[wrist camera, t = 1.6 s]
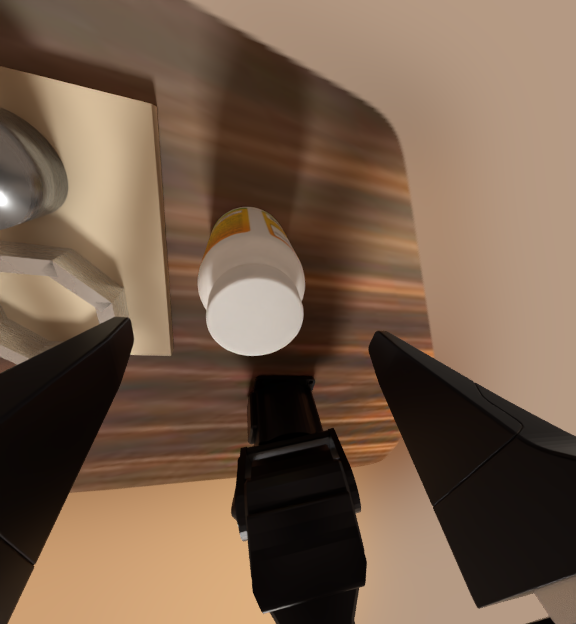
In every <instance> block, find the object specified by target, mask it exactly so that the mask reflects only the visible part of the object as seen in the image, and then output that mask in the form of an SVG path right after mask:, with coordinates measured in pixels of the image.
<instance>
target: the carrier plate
mask: <svg viewBox="0 0 576 624" xmlns="http://www.w3.org/2000/svg"><path fill="white" fill-rule="evenodd" d="M0 107H1V108H3V109H6V110H8V111H10V112H12V113H14V114H16V115H17V116H19V117H21V118H22V119H24V120H25V121H27V122H28V123H29V124H31V125H32V126H33V127H34V128H35V129H37V130H38V131H39V132H40V133H41V134H42V135H43V136H44V137H45V138H46V139H47V140H48V142H49V143H50V144H51V145H52V147H53V148H54V149H55V151H56V152H57V154H58V156H59V157H60V159H61V161H62V163H63V165H64V168H65V171H66V174H67V178H68V194H67V198H66V200H65V202H64V204H63V205H62V206H61V207H60V208H59V209H58V210H56V211H55V212H53V213H51V214H48V215H45V216H42V217H39V218H36V219H33V220H30V221H27V222H24V223H21V224H18V225H15V226H13V227H10V228H6V229H2V230H0V240H1V241H9V242H18V243H27V244H35V245H44V246H53V247H62V248H71V249H73V250H75V251H76V252H77V253H78V254H80V255H81V256H82V257H84V258H85V259H86V260H88V261H89V262H90V263H92V264H93V265H94V266H96V267H97V268H98V269H99V270H101V271H102V272H103V273H105V274H106V275H107V276H109V277H110V278H111V279H113V280H114V281H115V282H117V283H118V284H119V285H120V286H122V287H123V288H124V290H125V296H126V302H127V307H128V313H129V318H130V320H131V323H132V328H133V334H134V344H133V348H132V351H131V354H130V355H160V356H171V354H172V351H173V348H174V346H173V332H172V318H171V303H170V289H169V274H168V260H167V246H166V231H165V217H164V202H163V188H162V174H161V159H160V145H159V130H158V116H157V106H155V105H153V104H150V103H146V102H142V101H138V100H134V99H130V98H126V97H122V96H118V95H114V94H110V93H106V92H102V91H98V90H94V89H90V88H86V87H82V86H78V85H74V84H70V83H66V82H62V81H58V80H54V79H50V78H46V77H42V76H38V75H34V74H30V73H26V72H22V71H18V70H14V69H10V68H6V67H2V66H0ZM0 304H1V306H2V308H3V310H4V312H5V314H6V316H7V318H8V319H10V320H12V321H14V322H16V323H18V324H20V325H21V326H23V327H25V328H27V329H29V330H31V331H33V332H34V333H36V334H38V335H40V336H42V337H44V338H46V339H47V340H49V341H66V340H68V339H70V338H72V337H74V336H76V335H78V334H80V333H82V332H85V331H87V330H89V329H91V328H93V327H95V326H97V325H99V321H98V317H97V313H96V309H95V307H94V306H92V305H91V304H89V303H88V302H86V301H85V300H83V299H82V298H80V297H79V296H77V295H76V294H74V293H73V292H71V291H70V290H68V289H67V288H65V287H64V286H62V285H61V284H59V283H58V282H56V281H55V280H53V279H52V278H50V277H49V276H40V275H29V274H17V273H6V272H0Z"/></svg>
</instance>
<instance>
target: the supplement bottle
mask: <svg viewBox="0 0 576 624" xmlns="http://www.w3.org/2000/svg"><path fill="white" fill-rule="evenodd" d="M198 291H199V295H200V299H201V301H202V303H203V305H204V307H205V309H206V310H207V311H206V322H207V326H208V329H209V332H210V334H211V335H212V337H213V338H214V340H215V341H216V342H217V343H218V344H220V345H221V346H222V347H224V348H225V349H227V350H229V351H231V352H234V353H237V354H241V355H247V356H259V355H265V354H269V353H272V352H275V351H277V350H279V349H281V348H283V347H285V346H286V345H287V344H289V343H290V342H291V341H292V340H293V339H294V338H295V336H296V335H297V334H298V332H299V330H300V328H301V326H302V322H303V316H304V313H303V305H302V299H303V296H304V291H305V277H304V272H303V268H302V265H301V263H300V260H299V258H298V256H297V255H296V253H295V251H294V249H293V248H292V246H291V244H290V242H289V240H288V238H287V236H286V234H285V233H284V231H283V229H282V227H281V226H280V224H279V223H278V222H277V220H276V219H275V218H274V217H273V216H271V215H270V214H269V213H267V212H265V211H263V210H261V209H258V208H254V207H240V208H236V209H233V210H231V211H229V212H227V213H225V214H224V215H223V216H222V217H221V218H220V219H219V220H218V221H217V222H216V224H215V226H214V228H213V230H212V232H211V235H210V238H209V241H208V244H207V247H206V250H205V253H204V256H203V259H202V262H201V265H200V269H199V274H198Z"/></svg>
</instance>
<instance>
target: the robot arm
mask: <svg viewBox="0 0 576 624" xmlns="http://www.w3.org/2000/svg"><path fill="white" fill-rule="evenodd" d="M133 344H134V334H133V328H132V323H131V320H130V318H128V317H113V318H111V319H109V320H107V321H105V322H103V323H101V324H99V325H97V326H95V327H93V328H91V329H89V330H87V331H85V332H82V333H80V334H78V335H76V336H74V337H72V338H70V339H68V340H66V341H64V342H62V343H60V344H58V345H56V346H54V347H52V348H50V349H48V350H46V351H44V352H42V353H40V354H38V355H36V356H34V357H32V358H30V359H28V360H26V361H24V362H22V363H20V364H18V365H16V366H14V367H12V368H10V369H8V370H6V371H4V372H2V373H0V624H8V622H9V619H10V617H11V615H12V613H13V611H14V609H15V607H16V605H17V603H18V600H19V598H20V596H21V594H22V592H23V590H24V588H25V586H26V583H27V581H28V579H29V577H30V575H31V573H32V571H33V569H34V564H35V563H36V562H37V560H38V558H39V556H40V553H41V551H42V549H43V547H44V545H45V543H46V541H47V539H48V537H49V535H50V532H51V530H52V528H53V526H54V524H55V522H56V520H57V517H58V515H59V513H60V511H61V509H62V507H63V505H64V503H65V501H66V498H67V496H68V494H69V492H70V490H71V488H72V486H73V484H74V482H75V480H76V477H77V475H78V473H79V471H80V469H81V467H82V465H83V463H84V461H85V458H86V456H87V454H88V452H89V450H90V448H91V446H92V444H93V442H94V439H95V437H96V435H97V433H98V431H99V429H100V427H101V425H102V423H103V420H104V418H105V416H106V414H107V412H108V410H109V408H110V406H111V404H112V401H113V399H114V397H115V395H116V393H117V391H118V389H119V386H120V384H121V381H122V378H123V375H124V372H125V369H126V366H127V363H128V360H129V357H130V354H131V351H132V348H133ZM369 354H370V357H371V360H372V363H373V367H374V370H375V373H376V376H377V379H378V382H379V385H380V387H381V390H382V392H383V394H384V396H385V399H386V401H387V403H388V406H389V408H390V410H391V412H392V415H393V417H394V419H395V422H396V424H397V426H398V428H399V431H400V433H401V435H402V438H403V440H404V442H405V444H406V447H407V449H408V451H409V454H410V456H411V458H412V460H413V463H414V465H415V467H416V469H417V472H418V474H419V476H420V479H421V481H422V483H423V486H424V488H425V490H426V493H427V495H428V497H429V499H430V502H431V504H432V506H434V507H433V509H434V511H435V513H436V515H437V518H438V520H439V522H440V525H441V527H442V530H443V532H444V534H445V536H446V538H447V541H448V543H449V546H450V548H451V550H452V552H453V555H454V557H455V559H456V562H457V564H458V566H459V569H460V571H461V573H462V575H463V578H464V580H465V582H466V584H467V587H468V589H469V591H470V594H471V596H472V598H473V600H474V602H475V604H476V606H477V608H483V607H486V606H490V605H493V604H497V603H500V602H504V601H508V600H511V599H515V598H519V597H522V596H526V595H529V594H533V593H534V594H535V595H536V597H537V598H538V600H539V601H540V603H541V604H542V605H543V607H544V608H545V610H546V612H547V613H548V614H549V617H546V618H542V619H539V620H536V621H533V622H530V623H527V624H576V436H574V435H572V434H570V433H568V432H566V431H563V430H562V429H560V428H558V427H556V426H554V425H552V424H550V423H548V422H547V421H545V420H542V419H541V418H539V417H537V416H535V415H533V414H531V413H530V412H528V411H526V410H524V409H522V408H520V407H518V406H516V405H515V404H513V403H511V402H509V401H507V400H505V399H503V398H502V397H500V396H498V395H496V394H495V393H493V392H491V391H489V390H487V389H486V388H484V387H482V386H481V385H479V384H477V383H474V382H473V381H472V380H470V379H468V378H467V377H465V376H463V375H461V374H460V373H458V372H456V371H455V370H453V369H451V368H449V367H448V366H446V365H444V364H443V363H441V362H439V361H437V360H436V359H434V358H432V357H430V356H429V355H427V354H425V353H424V352H422V351H420V350H418V349H417V348H415V347H413V346H411V345H410V344H408V343H406V342H405V341H403V340H401V339H399V338H398V337H396V336H394V335H392V334H391V333H389V332H387V331H376V332H375V334H374V336H373V338H372V340H371V342H370V345H369ZM314 384H315V379H314V377H312V376H258V377H257V378H256V379H255V384H254V390H253V392H251V393H250V394H249V399H248V406H247V423H248V442H249V443H250V444H254V446H253V447H249V448H247V447H243V448H241V451H240V457H239V458H238V469H237V481H236V489H235V494H234V498H233V502H232V508H231V514H232V517H234V519H236V521H237V524H238V527H239V533H240V537H241V539H242V541H247V540H248V548H249V559H250V569H251V577H252V588H253V594H254V596H255V598H256V601H257V603H258V605H259V607H260V609H261V611H262V613H268V612H270V614H271V615H272V617H273V618H274V621H275V622H276V624H355V622H354V617H355V611H356V604H357V598H358V591H359V587H363V586H364V585H365V581H366V566H367V561H366V557H365V554H364V546H363V542H362V539H361V534H360V530H359V526H358V522H357V518H356V514H355V513H359V512H361V504H360V498H359V493H358V489H357V485H356V482H355V478H354V475H353V472H352V469H351V467H350V464H349V462H348V460H347V458H346V455H345V453H344V451H343V448H342V446H341V444H340V441H339V439H338V437H337V434H336V432H335V430H334V428H331V429H328V430H326V431H323V428H322V425H321V422H320V418H319V415H318V412H317V408H316V405H315V401H314V398H313V395H312V390H313V387H314Z"/></svg>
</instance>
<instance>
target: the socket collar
mask: <svg viewBox="0 0 576 624" xmlns="http://www.w3.org/2000/svg"><path fill="white" fill-rule="evenodd" d="M0 272H6V273H17V274H29V275H40V276H49V277H50V278H52V279H53V280H55V281H56V282H58V283H59V284H61V285H62V286H64V287H65V288H67V289H68V290H70V291H71V292H73V293H74V294H76V295H77V296H79V297H80V298H82V299H83V300H85V301H86V302H88V303H89V304H91V305H92V306H94V307H95V309H96V313H97V317H98V321H99V324H101V323H103V322H105V321H107V320H109V319H111V318H113V317H128V318H129V313H128V307H127V302H126V296H125V290H124V288H123V287H122V286H120V285H119V284H118V283H117V282H115V281H114V280H113V279H111V278H110V277H109V276H107V275H106V274H105V273H103V272H102V271H101V270H99V269H98V268H97V267H96V266H94V265H93V264H92V263H90V262H89V261H88V260H86V259H85V258H84V257H82V256H81V255H80V254H78V253H77V252H76V251H75V250H73V249H71V248H62V247H53V246H44V245H35V244H27V243H18V242H9V241H1V240H0ZM62 342H64V341H49V340H47V339H46V338H44V337H42V336H40V335H38V334H36V333H34V332H33V331H31V330H29V329H27V328H25V327H23V326H21V325H20V324H18V323H16V322H14V321H12V320H10V319H8V318H7V316H6V314H5V312H4V310H3V308H2V306H1V304H0V357H2V358H4V359H7V360H9V361H11V362H13V363H15V364H17V365H18V364H20V363H22V362H24V361H26V360H28V359H30V358H32V357H34V356H36V355H38V354H40V353H42V352H44V351H46V350H48V349H50V348H52V347H54V346H56V345H58V344H60V343H62Z"/></svg>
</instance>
